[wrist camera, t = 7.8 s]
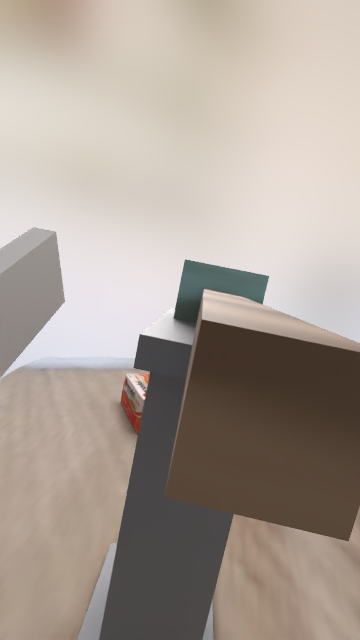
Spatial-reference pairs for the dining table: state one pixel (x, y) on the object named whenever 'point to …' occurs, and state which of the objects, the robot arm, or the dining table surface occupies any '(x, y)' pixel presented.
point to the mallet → (265, 409)
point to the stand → (159, 519)
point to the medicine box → (134, 397)
